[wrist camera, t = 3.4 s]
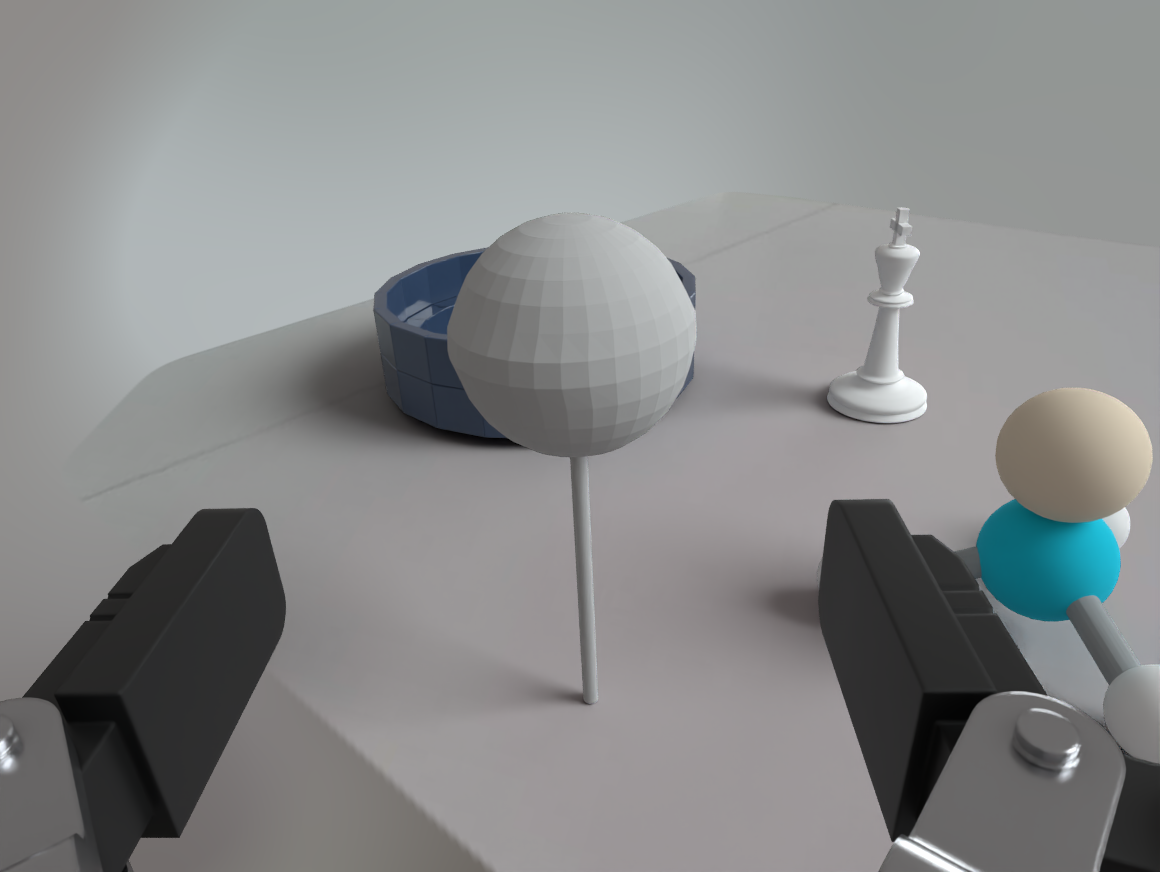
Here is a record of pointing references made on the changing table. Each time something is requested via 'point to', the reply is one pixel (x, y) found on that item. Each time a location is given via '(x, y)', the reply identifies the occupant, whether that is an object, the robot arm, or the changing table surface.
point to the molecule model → (1073, 538)
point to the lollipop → (573, 353)
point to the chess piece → (884, 343)
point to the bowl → (438, 342)
